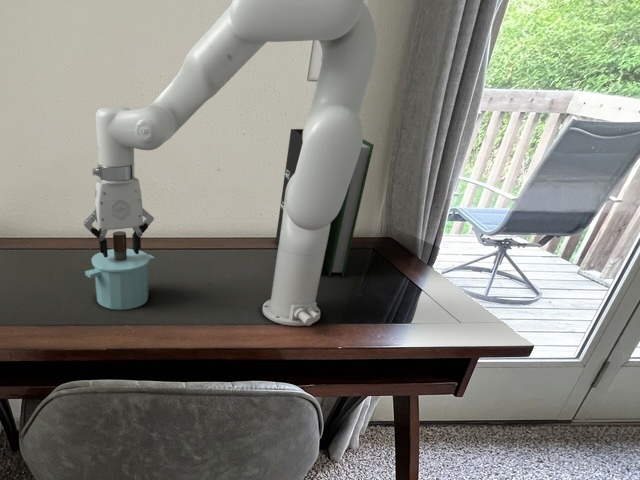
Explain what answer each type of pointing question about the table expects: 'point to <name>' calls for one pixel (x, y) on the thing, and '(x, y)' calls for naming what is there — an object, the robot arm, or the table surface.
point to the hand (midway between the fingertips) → (120, 253)
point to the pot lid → (120, 257)
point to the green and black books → (348, 213)
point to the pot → (121, 287)
